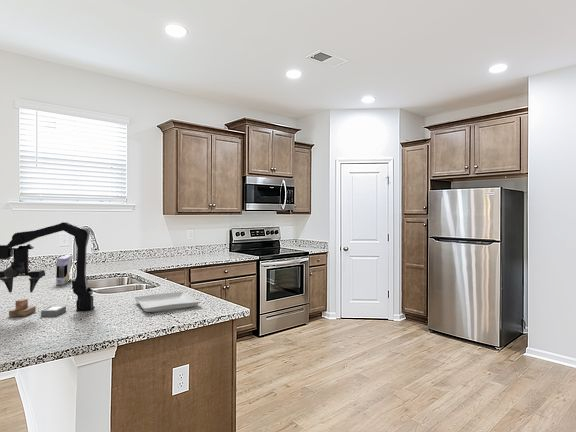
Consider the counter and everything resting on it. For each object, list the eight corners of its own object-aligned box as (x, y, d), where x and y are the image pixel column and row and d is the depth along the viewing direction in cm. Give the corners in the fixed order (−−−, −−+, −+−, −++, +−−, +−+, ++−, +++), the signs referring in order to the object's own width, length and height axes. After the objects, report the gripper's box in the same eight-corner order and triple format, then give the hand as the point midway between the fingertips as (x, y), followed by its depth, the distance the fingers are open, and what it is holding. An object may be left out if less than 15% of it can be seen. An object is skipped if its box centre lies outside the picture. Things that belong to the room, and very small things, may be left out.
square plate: (143, 316, 172) (143, 307, 172) (132, 303, 195) (132, 296, 195) (199, 308, 186) (199, 300, 186) (183, 297, 209) (183, 290, 209)
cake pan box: (63, 285, 240) (63, 258, 239) (54, 285, 238) (54, 258, 238) (73, 279, 258) (73, 254, 258) (65, 280, 257) (65, 254, 257)
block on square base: (35, 311, 177) (35, 297, 176) (25, 316, 169) (25, 301, 168) (20, 311, 176) (20, 298, 176) (8, 316, 168) (8, 302, 168)
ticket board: (65, 311, 178) (65, 305, 178) (56, 316, 170) (56, 310, 170) (50, 311, 177) (50, 306, 177) (40, 316, 169) (40, 310, 169)
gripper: (-13, 261, 163) (-13, 296, 163) (31, 261, 165) (31, 296, 165) (4, 258, 174) (4, 291, 174) (45, 258, 176) (45, 290, 176)
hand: (20, 292), depth 172 cm, fingers open, 9 cm apart
